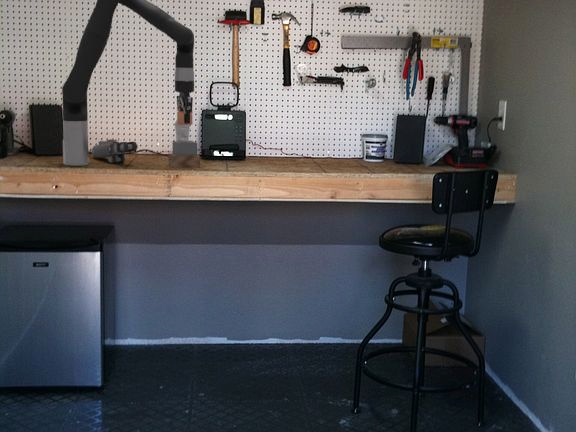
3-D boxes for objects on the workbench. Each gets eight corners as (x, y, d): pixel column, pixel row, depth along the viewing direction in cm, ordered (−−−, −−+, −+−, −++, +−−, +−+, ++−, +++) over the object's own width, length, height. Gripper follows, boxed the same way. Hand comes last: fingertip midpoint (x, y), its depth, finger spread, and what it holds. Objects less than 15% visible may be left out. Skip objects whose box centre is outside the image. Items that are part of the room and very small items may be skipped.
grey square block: (177, 155, 297) (177, 142, 296) (172, 153, 304) (172, 141, 303) (197, 155, 300) (197, 142, 299) (191, 153, 307) (192, 140, 306)
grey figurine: (182, 160, 322) (182, 112, 318) (171, 158, 326) (171, 111, 322) (193, 159, 327) (193, 112, 323) (182, 157, 331) (182, 111, 327)
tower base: (175, 168, 297) (175, 156, 296) (168, 165, 306) (168, 153, 305) (199, 168, 301) (199, 155, 300) (192, 165, 310) (192, 152, 309)
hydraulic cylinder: (124, 161, 294) (122, 136, 293) (87, 166, 323) (85, 142, 322) (141, 160, 298) (139, 135, 297) (103, 165, 327) (101, 142, 327)
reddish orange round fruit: (179, 125, 296) (179, 112, 295) (175, 123, 302) (175, 111, 301) (194, 124, 299) (194, 112, 298) (189, 123, 304) (189, 111, 303)
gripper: (170, 79, 302) (170, 121, 305) (180, 80, 289) (180, 124, 292) (188, 79, 305) (188, 121, 308) (199, 80, 292) (199, 124, 295)
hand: (184, 122), depth 300 cm, fingers closed on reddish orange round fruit, 6 cm apart
